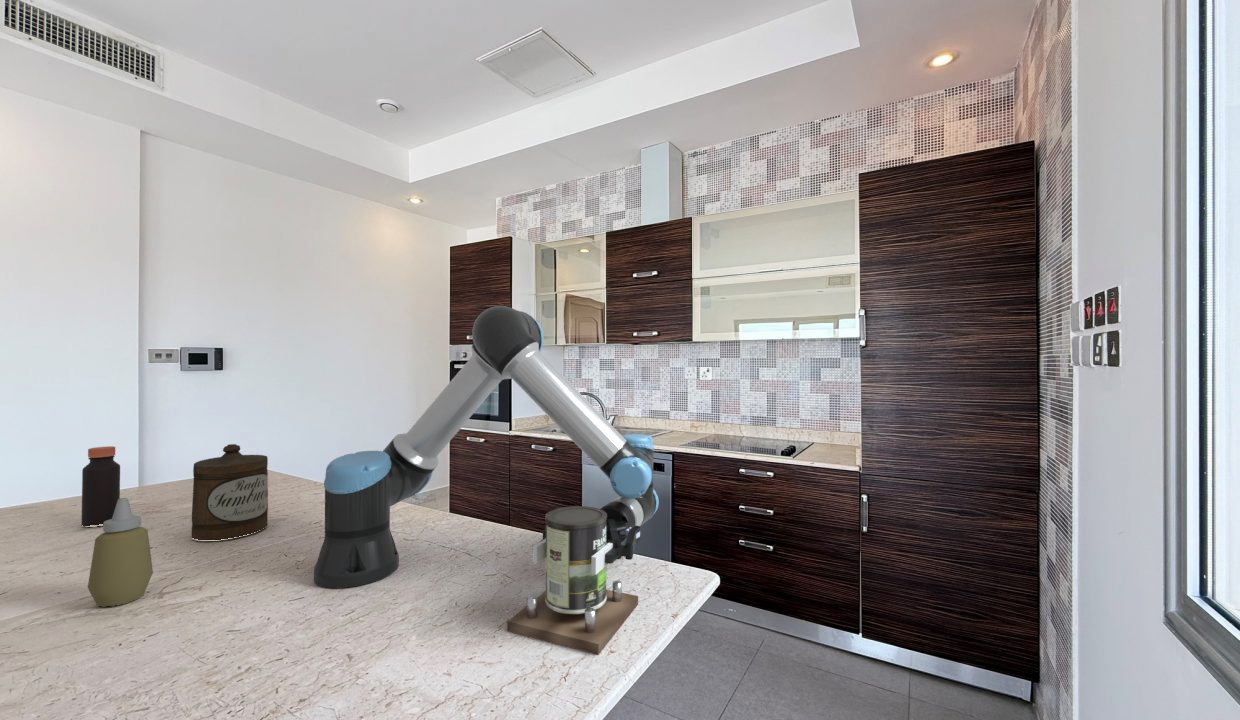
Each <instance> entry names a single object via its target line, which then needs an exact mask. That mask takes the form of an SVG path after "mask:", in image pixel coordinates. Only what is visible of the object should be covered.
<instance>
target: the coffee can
mask: <svg viewBox="0 0 1240 720" xmlns="http://www.w3.org/2000/svg"><path fill="white" fill-rule="evenodd" d="M606 520H607V513H606V512H605V511H603V510H601V508H599V507H598V508H597V507H592V506H586V505H585V506H584V505H583V506H582V505H581V506H579V505H575V506H574V505H572V506H563V507H559V508H555V509H553V510H550V511H548V512H547V513H545V516H544V521H545V529H546V558H545V591H546V599H545V602H546V605H547V606H548V607H549V608H550V609H552V610H554V611H556V612H559V613H564V614H583V613H585V609H587V608H594V609H595V610H597V609H598V608H600V607H602V606H603V605H604V604H605V602H606V599H607V596H606V590H607V565H606V566H605V567H604V568H603V569H602V570H601V571H600V572H599V573H598V574H596V575H592V574H591V557H592V556H593V555H594V554H596V553H597V552H598V551H599V550H600V549H602V548H603V547H604V546H605V545H607V542H606Z"/></svg>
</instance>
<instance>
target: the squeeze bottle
mask: <svg viewBox="0 0 1240 720" xmlns="http://www.w3.org/2000/svg"><path fill="white" fill-rule="evenodd" d="M141 518H142V517H141V516H140V515H135V514H134V515H133V513H132V509H131V506H130V503H129V499H128V497H120V499H118V501H117V504H116V507H115V511H114V514H113V517H112V519H109V520H107V521H105V522H104V523H103V526H102V531H103V532H102V533H101V534H99V535H98V536H97V537H96V538H95V539H94V545H93V551H92V558H91V564H90V570H89V578H88V582H87V589H88V590H89V593H90V595H91V597H92V599H93V601H94V602H95V605H96V606H97V605H98V606H102V607H101V608H107V607H106V606H112V607H116V606H115V605H117V606H122V605H125V604H128V603H132V602H134V601H136V599H137V600H139V599H140V598H142V597H143V596H144V594H145V593H146V590H147V588H148V585H149V583H150V581H151V578H152V577H153V574H154V571H153V569H154V568H153V561H152V553H151V547H150V546H151V545H150V539H149V530H148V529H147V528H145V527H143V526H141V523H142V522H141V520H142V519H141ZM141 596H142V597H141ZM138 598H139V599H138ZM133 600H134V601H133ZM131 601H132V602H131ZM121 604H122V605H121ZM98 606H97V607H98Z"/></svg>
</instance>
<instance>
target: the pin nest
mask: <svg viewBox="0 0 1240 720" xmlns="http://www.w3.org/2000/svg"><path fill="white" fill-rule="evenodd" d="M622 589H623V582H622V581H621V580H619V579H618V580H613V581H612V590H609V589H606V596H607V599H606V602H605V604H604V605H603V606H602V607H600V608H598V609H597V610H595V609H594V608H587V609H585V613H583V614H564V613H559V612H556V611H554V610H552V609H550V608H549V607H548V606H547V605H546V602H545V599H546V590H544V591H543V592H542V593H541V594H540V595H538V596H537V595H534V594H532V595H528V596H527V597H526V598H527V599H526V601H527V602H526V605H525V606H524V607H523V608H522V609H521V610H519V611H518V612H517V613H516V614H514V615H513V616H512V617H510V619H507V621H506V623H507V624H506V625H507V626H506V627H507V628H506V629H507V630H506V631H507V632H512V633H514V634H517V635H522V636H525V637H526V636H527V637H529V638H534V639H538V640H542V641H545V642H549V643H553V644H557V645H560V646H564V647H568V648H572V649H576V650H579V651H583V652H588V653H589V654H590V653H591V654H593V655H594V654H595V655H600V653H601V652H602V651H603V650H604V648H605V647H606V646H607V645H608V643H610V641H611V640H612V639H613V637H614V636H615V634H616V633H617V632H618V631H619V630H620V628H621V627H622V626H623V625H624V623H625V622H626V620H627V619H628V618H629V616H631V614H632V613H633V612H634V610H635V609H636V608H637V606H638V605H639V596H638V595H635V594H631V593H630V594H629V593H624V592H622V591H623V590H622Z"/></svg>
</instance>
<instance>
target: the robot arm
mask: <svg viewBox="0 0 1240 720" xmlns="http://www.w3.org/2000/svg"><path fill="white" fill-rule="evenodd" d="M471 332H472V333H471V334H472V335H471V336H472V343H473V344H472V345H471V347H470V348H471V356H470V358H469V359H468V361H467V362H466V363H465V364H464V365H463V366H462V367H461V369H460V370H459V371H458V372H457V373H456V375H455V376H454V377H453V378H452V379H451V380H450V381H449V382H448V384H447V385H446V386H445V387H444V389H443V390H442V391H441V392H440V393H439V394H438V396H437V397H435V400H434V401H433V402H432V403H431V404H430V405H429V406H428V408H426V410H425V411H424V412H423V413H422V415H421V416H420V417H419V418H418V420H416V422H415V423H414V424H413V425H412V426H411V428H410V429H409V430H408V431H407V432H406V433H398V434H396V435H395V436H394V437H393V439H392V440H391V441H390V442H389V443H388V444H387V445H386V446H385V448H383V450H364V451H363V450H362V451H356V452H354V453H348V454H347V453H346V454H344V455H340V456H339V457H336V458H334V459H332V460H331V461H330V462H329V463H328V464H327V466H326V469H325V475H324V476H325V478H324V481H323V485H324V486H323V487H324V539H323V543H322V545H321V548H320V551H319V553H318V557H317V560H316V563H315V564H314V567H313V582H314V584H315V585H317V586H320V587H322V588H323V587H324V588H328V589H330V588H331V589H343V588H352V587H353V588H354V587H359V586H363V585H367V584H371V583H374V582H377V581H380V580H382V579H385V578H386V577H389V576H391V575H392V574H393V573H395V572H396V571H397V570H398V568H399V564H400V563H399V560H400V559H399V558H400V555H399V551H398V550H397V547H396V543H395V540H394V537H393V534H392V532H391V522H390V521H391V520H390V519H391V507H392V506H394V505H396V504H398V503H400V502H402V501H404V500H405V499H409V498H412V497H413V496H415V495H417V494H418V493H420V492H421V491H422V490H424V488H426V486H427V485H428V484H429V482H430V480H431V479H432V476H433V472H434V471H435V469H436V468H437V466H439V457H438V456H439V455H440V453H441V452H442V451H443V450H444V448H446V446H447V445H448V444H449V443H450V442H451V440H453V438H454V437H455V436H456V435H457V433H458V432H460V430H461V429H462V427H463V426H464V425H465V424H466V423H467V422H468V421H469V419H470V418H471V417H472V416H473V415H474V414H475V412H476V411H477V410H478V409H479V407H481V405H482V404H483V403H484V401H485V400H486V399H487V398H488V397H489V396H490V394H491V393H493V391H494V390H495V389H496V387H498V385H499V384H500V383H501V382H502V381H503V380H510V379H512V380H513V381H514V383H515V384H517V385H518V387H519V388H521V390H522V391H524V393H526V395H528V397H529V398H530V399H531V400H532V401H534V403H536V405H537V406H538V407H539V408H540V409H541V410H542V411H543V413H545V414H546V415H547V416H548V417H549V418H550V419H551V420H552V421H553V422H554V423H555V425H557V427H558V428H559V429H560V430H561V431H562V432H564V434H566V435H567V437H568V438H570V441H571V440H572V442H573V443H574V444H575V445H576V446H577V447H578V448H579V449H580V450H581V451H582V452H583V454H585V455H586V456H587V458H589V459H590V460H591V461H592V462H593V463H594V464H595V466H597V467H598V468H599V470H601V472H602V473H603V474H604V475H605V476H606V477H607V478H608V479H609V482H610V485H611V487H612V490H613V491H614V492H615V493H616V494H617V495H618V497H616V498H614V499H613V500H611V501H610V502H608V503H606V504H605V505H604V506H602V507H601V508H600V509H601V510H603V511H605V512H606V513H607V520H606V545H605V546H604V547H603V548H602V549H600V550H599V551H598V552H597V553H596V554H594V555H593V556H592V557H591V574H592V575H596V574H598V573H599V572H600V571H601V570H602V569H603V568H604V567H605V566H606V567H607V566H608V565H609V564H610V565H611V564H613V563H614V562H616V561H617V560H621V559H622V557H624V558H625V560H627V561H628V560H633V557H634V553H635V549H636V545H637V543H639V542H640V540H641V526H643V525H644V524H646V523H647V522H648V521H649V520H651V519H652V518H653V516H654V515H655V513H656V512H657V510H658V509H659V504H660V502H659V501H660V500H659V496H658V494H657V491H656V490H655V489H654V482H653V481H654V451H655V450H654V441H653V438H652V437H651V436H650V435H648V434H641V433H639V434H637V433H636V434H635V433H632V434H631V433H630V434H624V435H622V434H621V433H620V432H619V431H618V430H617V429H616V428H615V427H614V426H613V425H612V424H611V423H610V421H608V420H607V419H606V418H605V417H604V416H603V415H602V414H601V412H599V410H597V409H596V408H595V407H594V406H593V405H592V404H591V402H589V401H588V400H587V399H586V397H584V396H583V395H582V393H580V391H579V390H577V389H576V387H575V386H573V385H572V383H571V382H569V381H568V379H567V378H565V376H564V375H563V374H562V373H561V372H560V371H559V370H558V369H557V368H556V367H555V366H554V365H553V364H552V363H551V362H550V361H549V359H547V358H546V357H545V356H544V355H543V354H542V353H541V351H542V349H543V347H544V346H543V345H544V342H545V341H544V340H545V339H544V337H545V336H544V332H543V328H542V326H541V324H540V322H538V321H537V320H536V319H535V318H534V317H533V316H532V315H530V314H529V313H528V312H524V311H523V310H522V311H520V310H517V309H514V308H512V307H509V306H506V305H505V306H504V305H495V306H492V307H489V308H486V309H485V310H483V311H482V312H481V313H480V314H478V316H477V318H476V319H475V321H474V322H473V326H472V331H471ZM624 541H625V542H624ZM623 542H624V543H625V544H624V545H623V544H622V543H623ZM543 560H546V528H545V529H543V530H542V539H541V540H540V541H539V542H537V544H535V545H533V546H532V564H535V565H537V564H538V563H540V562H542V561H543Z"/></svg>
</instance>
